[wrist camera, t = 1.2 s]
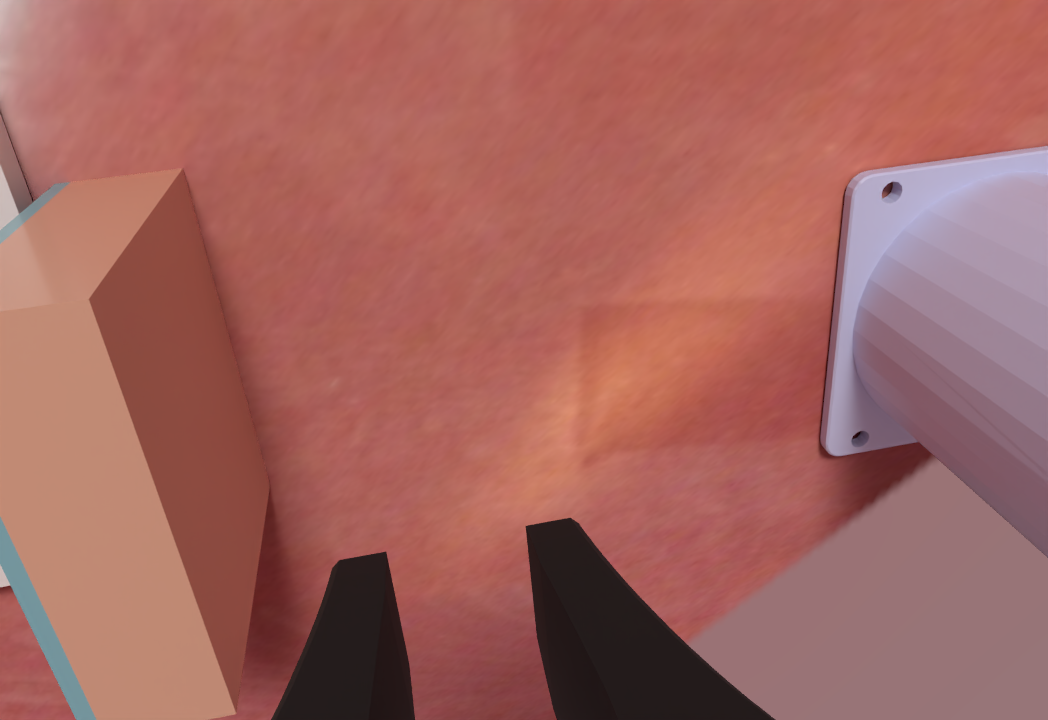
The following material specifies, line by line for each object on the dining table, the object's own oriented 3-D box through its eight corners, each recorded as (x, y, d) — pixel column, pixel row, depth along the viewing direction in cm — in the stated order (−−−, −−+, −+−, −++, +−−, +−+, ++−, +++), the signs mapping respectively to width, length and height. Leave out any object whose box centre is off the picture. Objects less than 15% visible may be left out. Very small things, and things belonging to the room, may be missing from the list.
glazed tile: (183, 167, 17) (88, 299, 11) (270, 484, 21) (236, 713, 15) (55, 183, 17) (-116, 327, 11) (167, 501, 20) (88, 744, 14)
